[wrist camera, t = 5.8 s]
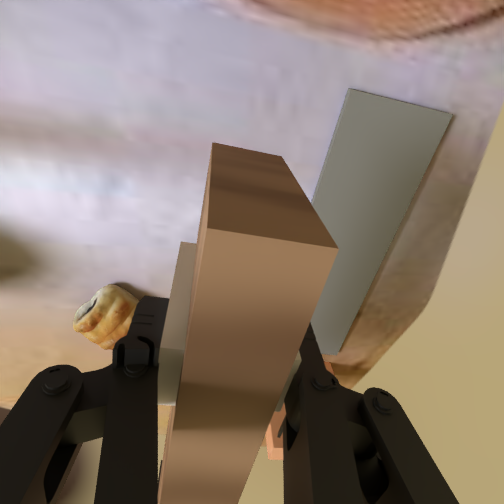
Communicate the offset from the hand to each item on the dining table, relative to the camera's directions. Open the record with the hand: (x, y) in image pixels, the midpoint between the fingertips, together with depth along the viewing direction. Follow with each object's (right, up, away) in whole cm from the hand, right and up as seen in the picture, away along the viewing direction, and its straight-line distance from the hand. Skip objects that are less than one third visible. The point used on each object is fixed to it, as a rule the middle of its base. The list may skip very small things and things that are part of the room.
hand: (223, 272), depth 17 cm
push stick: (-1, -4, +3) cm, 5 cm away
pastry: (-12, -5, +19) cm, 24 cm away
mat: (+10, +1, +17) cm, 20 cm away
